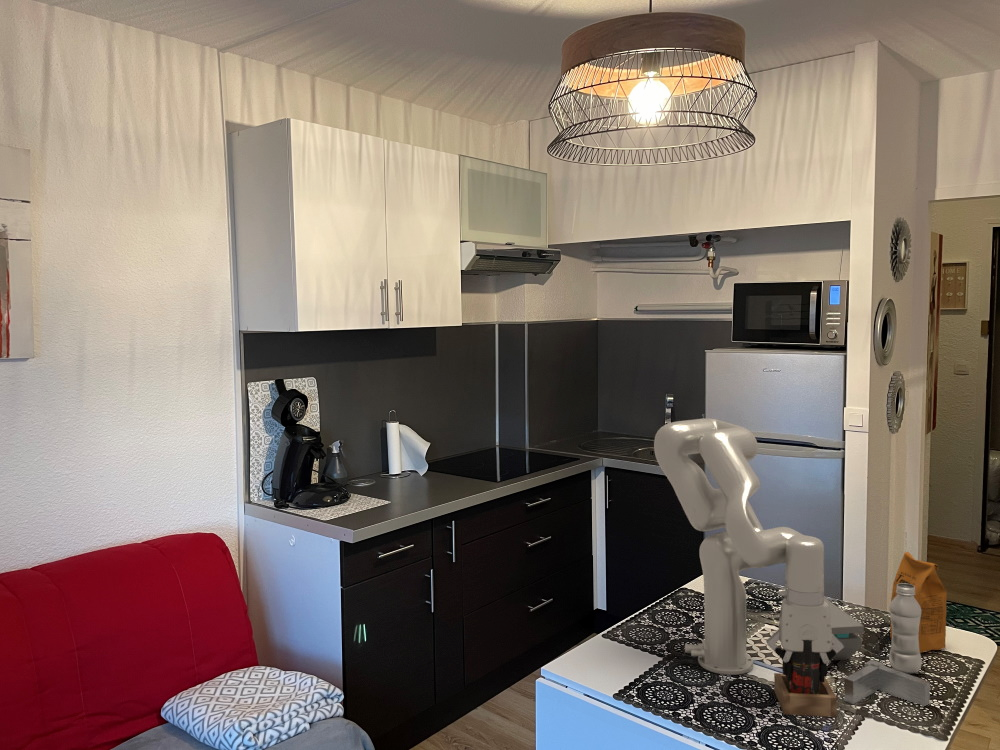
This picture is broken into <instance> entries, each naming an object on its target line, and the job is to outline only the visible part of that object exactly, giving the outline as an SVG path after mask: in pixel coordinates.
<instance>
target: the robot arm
mask: <svg viewBox="0 0 1000 750" xmlns="http://www.w3.org/2000/svg"><path fill="white" fill-rule="evenodd" d="M653 446H654V448H653V450H654V456H655V459H656V461H657V464H658V465H659V467H660V469H661V470H662V472H663V474H664V475H665V477H667V478H666V479H667V480H668V481H669V483H670V484H671V486H672V488H673V490H674V492H675V495H676V496H677V499H678V501H679V503H680V504H681V507H682V510H683V511H684V514H685V515H686V517H687V519H688V521H689V523H690V525H691V526H692V527H693V528H694V529H695V530H696V531H699V532H709V531H710V532H711V531H715V530H721V529H725V531H721V532H716V533H712V534H711V535H709V536H707V537H706V538H704V539H703V541H701V544H700V545H699V553H698V554H699V559H700V564H701V569H702V577H703V590H704V591H703V594H704V595H703V597H704V639H702V641H701V642H702V643H698V644H692V643H691V644H687V643H685V644H684V652H685V653H688V654H690V656H691V657H697V662H698V665H700V667H702V668H703V669H704V670H706V671H709V672H710V673H711V672H712V673H715V674H719V675H726V676H737V675H744V674H746V673H749V672H750V671H752V670H753V668H754V660H753V658H752V657H751V656H750V655H748V654H747V592H746V587H745V585H744V583H743V581H742V579H741V577H740V575H739V573H740V572H742V571H745V570H749V569H753V568H756V569H761V568H767V567H771V566H775V565H779V564H785V585H784V587H783V588H782V589H778V597H784V598H783V599H782V602H781V606H780V611H779V612H780V613H779V619H778V620H779V622H778V629H777V630H776V631H775V632H773V633H772V635H770V636H769V638H768V639H767V640H766V644H767V646H768V647H769V648H770V650H772V651H773V652H774V653H775V654H776V655H777V656H778V657H779V658H780V659H781V660H782V674H783V675H786V678H787V680H788V681H791V680H792V663H791V661H790V657H791V655H792V652H802V651H803V641H802V640H813V641H812V652H815V653H820V681H821V682H824V677H825V678H826V677H828V664H829V663H830V661H829V660H831V659H832V658H833V657H834V656H835V655H836V653H838V652H839V651H840V650H841V649H843V647H844V646H843V644H842V643H841V642H840V641H839V640H838V639H837V638H836V637H835V636H834V635H833V634H832V629H831V618H830V611H829V606H828V604H827V603H826V602H825V601H824V597H825V545H824V542H823V541H822V540H821V539H820V538H818V537H815V536H810V535H806V534H805V535H804V534H802V533H801V532H799V531H797V530H795V529H793V528H791V527H788V526H778V527H774V528H768V529H764V528H763V526H762V524H761V522H760V520H759V519H758V517H757V515H756V513H755V510H754V509H753V507H752V505H751V503H750V501H749V498H752V496H753V495H754V494H755V493H756V492H757V491H759V489H760V485H761V482H760V479H759V478H758V476H757V475H756V473H755V471H754V469H753V468H752V466H751V465H750V463H749V462H750V461H752V460H754V459H755V457H756V456H757V455H758V450H759V446H758V441H757V439H756V437H755V436H754V434H753V432H751V431H750V430H749V429H747V428H745V427H743V426H742V425H741V426H740V425H738V424H733V423H731V422H726V421H724V420H719V419H716V418H710V417H709V418H696V419H688V420H687V419H686V420H678V421H673V422H669V423H667V424H664V425H663V426H661V427H660V428H659V429H658V430H657V432H656V433H655V435H654V441H653ZM696 454H700V456H701V458H702V459H703V461H704V463H705V464H706V466H707V469H708V470H709V472H710V473H711V475H712V477H713V478H714V480H715V482H716V484H717V486H718V488H715V487H713V486H712V484H711V482H710V481H709V479H708V477H707V475H706V473H705V471H704V470H703V468H701V467H700V466H699V465H698V464H697V463H696V462H695V461H693V460H692V459H691V458H690V457H689V455H696ZM777 642H780V644H781V647H780V646H779V645H777ZM832 643H833V646H832ZM831 661H832V660H831Z"/></svg>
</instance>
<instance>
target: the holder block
mask: <svg viewBox="0 0 1000 750" xmlns="http://www.w3.org/2000/svg"><path fill="white" fill-rule="evenodd" d="M773 676H774V679H773V680H774V682H773V683H774V685H773V686H774V688H773V689H774V693H775V696H776V699H777V701H778V703H779V706H780V708H781V711H782V713H783V715H791V716H793V715H794V716H809V717H810V716H811V717H813V716H814V717H833V718H834V717H835V718H836V717H838V698H837V695H836V694H835V692H834V691H833V689H832V687H831V685H830V683H829V681H828V680H827V678H826V677H824V682H821V681H820V694H797V693H790V681H788V680H787V678H786V675H783V672H781V673H778V672H774V674H773Z"/></svg>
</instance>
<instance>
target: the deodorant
mask: <svg viewBox="0 0 1000 750" xmlns="http://www.w3.org/2000/svg"><path fill="white" fill-rule="evenodd" d="M802 641H803V651H802V652H792V655H791V657H790V661H791V663H792V680H791V681H790V693H797V694H820V653H815V652H812V641H813V640H802Z"/></svg>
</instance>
